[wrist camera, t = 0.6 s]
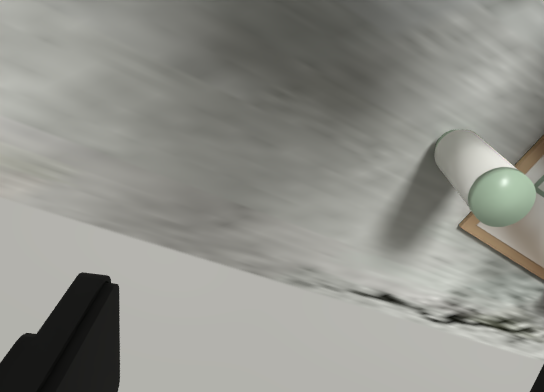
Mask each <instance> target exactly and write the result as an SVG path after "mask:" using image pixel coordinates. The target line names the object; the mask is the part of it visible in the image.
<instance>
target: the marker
mask: <svg viewBox="0 0 544 392" xmlns="http://www.w3.org/2000/svg"><path fill="white" fill-rule="evenodd" d="M434 158H435V162H436V164H437V166H438V167H439V169H440V170H441V171H442V172H443V174H444V175H445V176H446V178H447V179H448V180H449V182H450V183H451V184H452V186H453V187H454V188H455V189H456V191H457V192H458V193H459V195H460V196H461V197H462V199H463V200H464V201H465V202H466V204H467V205H468V206H469V208H470V210H471V211H472V213H473V214H474V215H475V217H476V218H477V219H478V220H479V221H480V222H482V223H483V224H485V225H488V226H492V227H504V226H508V225H511V224H514V223H516V222H518V221H519V220H521V219H522V218H524V217H525V216H526V215H527V214H528V213H529V211H530V210H531V208H532V207H533V205H534V202H535V198H536V190H535V186H534V184H533V182H532V181H531V180H530V179H529V178H528V177H527V176H526V175H525V174H523V173H522V172H521V171H519V170H518V169H516V168H515V167H514V166H513V165H512V164H511V163H510V162H508V161H507V160H506V159H505V158H504V157H503V156H501V155H500V154H499V153H498V152H497V151H496V150H494V149H493V148H492V147H491V146H490V145H489V144H487V143H486V142H485V141H484V140H483V139H482V138H481V137H479V136H478V135H477V134H476V133H474V132H472V131H470V130H451V131H449V132H446V133H445V134H443V135H442V136H441V137H440V138H439V140H438V141H437V143H436V147H435V153H434Z"/></svg>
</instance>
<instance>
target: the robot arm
mask: <svg viewBox="0 0 544 392" xmlns="http://www.w3.org/2000/svg"><path fill="white" fill-rule="evenodd" d="M119 342H120V341H119V286H118V284H113V283H111V279H110V277H109V276H106V275H99V274H90V273H80V274H79V275H78V276H77V277H76V279H75V280H74V281H73V283H72V284H71V286H70V287H69V289H68V290H67V291H66V293H65V294H64V296H63V297H62V299H61V300H60V301H59V303H58V304H57V306H56V307H55V309H54V310H53V311H52V313H51V314H50V316H49V317H48V319H47V320H46V321H45V323H44V324H43V326H42V327H41V329H40V330H39V331H38V333H37V334H31V333H26V334H24V335H22V336H21V337H20V338H19V339H18V340H17V341H16V342H15V344H14V345H13V347H12V348H11V349H10V351H9V352H8V354H7V355H6V356H5V357H4V359H3V360H2V362H1V363H0V392H118V387H119V382H120V351H119V350H120V343H119ZM530 392H544V365H543V367H542V369H541V371H540V373H539V375H538V377H537V379H536V381H535V383H534V385H533V387H532V389H531V391H530Z"/></svg>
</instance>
